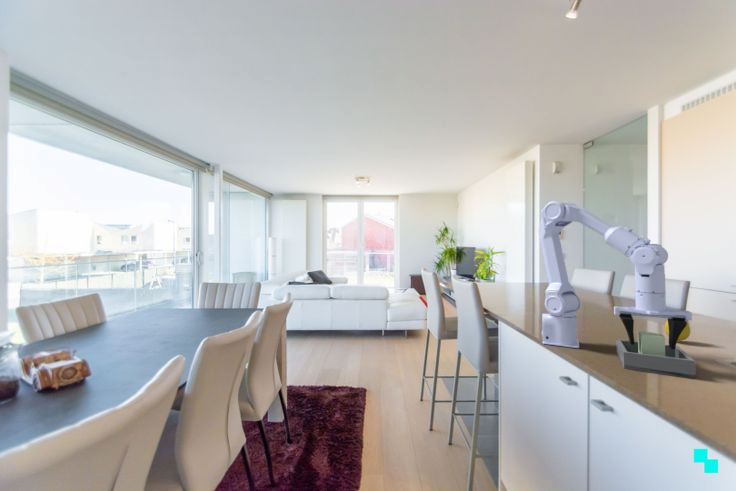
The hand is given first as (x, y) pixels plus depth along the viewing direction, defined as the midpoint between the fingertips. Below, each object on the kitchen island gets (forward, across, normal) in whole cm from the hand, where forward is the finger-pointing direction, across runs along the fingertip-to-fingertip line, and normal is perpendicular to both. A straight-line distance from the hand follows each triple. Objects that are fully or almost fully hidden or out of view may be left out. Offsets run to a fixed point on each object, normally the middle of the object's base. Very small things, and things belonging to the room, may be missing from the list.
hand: (651, 345), depth 80 cm
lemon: (+5, +11, +28) cm, 30 cm away
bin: (+5, 0, 0) cm, 5 cm away
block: (+4, 0, 0) cm, 4 cm away
